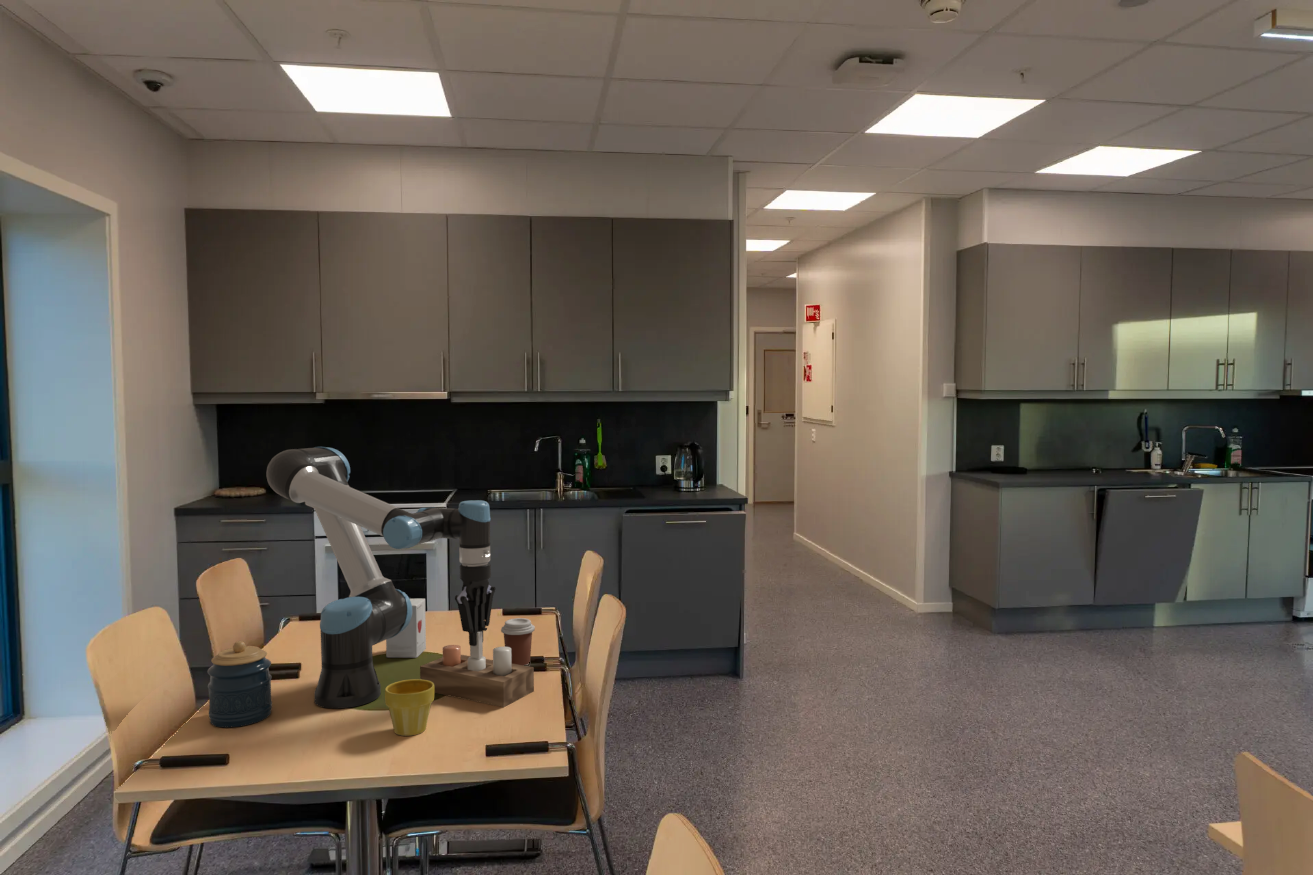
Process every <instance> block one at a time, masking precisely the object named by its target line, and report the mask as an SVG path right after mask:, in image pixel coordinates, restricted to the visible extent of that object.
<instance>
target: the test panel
mask: <svg viewBox="0 0 1313 875" xmlns="http://www.w3.org/2000/svg"><path fill="white" fill-rule="evenodd" d="M469 657H470V655H467V654H461V664H458V665H456V666H454V667H451V666H446V665H443V656H441V657H440V658H437V659H434V660H433V661H429V662H427V663H425V664H422V665H420V666H419V677H420V678H419V679H422V680H428V681H431V682H433V683H434V694H439V695H442V696H443V695H444V696H448V697H454V698H458V699H463V700H467V701H472V702H477V703H483V704H486V705H487V704H488V705H491V706H496V707H501V708H505V707H507V706H510V705H511V704H512V703H515V702H516V701H518V700H520V699H522V698H524V697H526V696H528V695H530V694H531V693H533V692H535V678H534V676H535V674H534V669H535V668H534V666H530V665H529V666H523V665H518V664H512V663H511V665H512V673H511V674H508V675H506V676H499V675H494V674H493V659H489V658H486V668H485V669H483V670H481V671H472V670H468V658H469Z"/></svg>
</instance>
